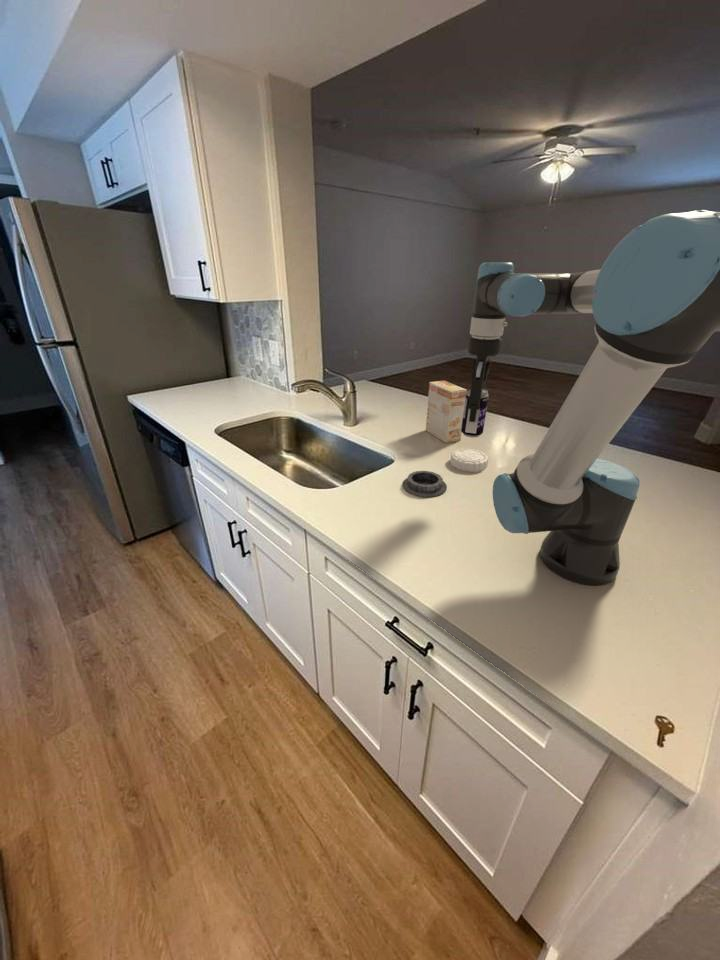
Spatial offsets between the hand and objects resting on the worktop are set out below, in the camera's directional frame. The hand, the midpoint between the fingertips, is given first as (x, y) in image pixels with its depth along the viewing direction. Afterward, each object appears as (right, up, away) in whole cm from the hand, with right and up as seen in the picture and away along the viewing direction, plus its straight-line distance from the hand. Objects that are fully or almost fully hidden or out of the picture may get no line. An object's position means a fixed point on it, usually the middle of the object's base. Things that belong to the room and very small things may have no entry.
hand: (472, 428), depth 103 cm
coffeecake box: (+2, +3, +48) cm, 48 cm away
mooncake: (+6, -9, +26) cm, 28 cm away
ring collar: (-11, -16, +12) cm, 22 cm away
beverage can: (0, -2, +1) cm, 2 cm away
